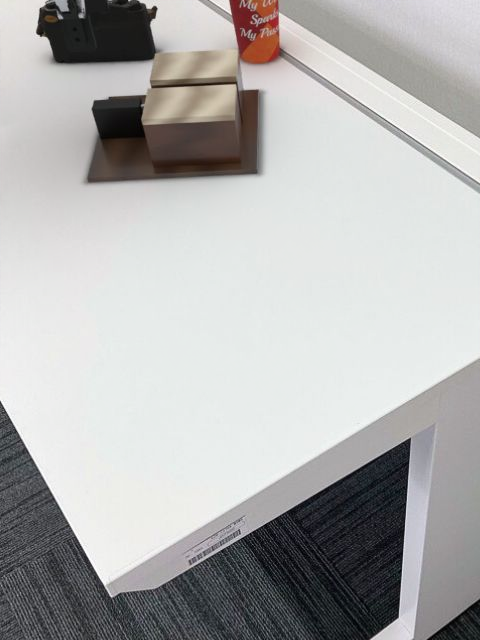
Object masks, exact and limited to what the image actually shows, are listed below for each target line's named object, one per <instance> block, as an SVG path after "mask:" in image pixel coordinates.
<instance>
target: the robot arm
mask: <svg viewBox="0 0 480 640" xmlns="http://www.w3.org/2000/svg"><path fill="white" fill-rule="evenodd" d="M54 1H55V3H54V4H55V9H57V15H58V18H59V21H60V24H61V28H62V31H63V35H64V38H65V42H66V46H67V49H68V51H70V52H92V51H96V48H97V45H96V41H95V37H94V33H93V29H92V25H91V21H90V17H89V14H88V15H85V13H93V12H108V10H109V5H108V1H107V0H77V5H76V4H75V2H74V1H73V0H54Z"/></svg>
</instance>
